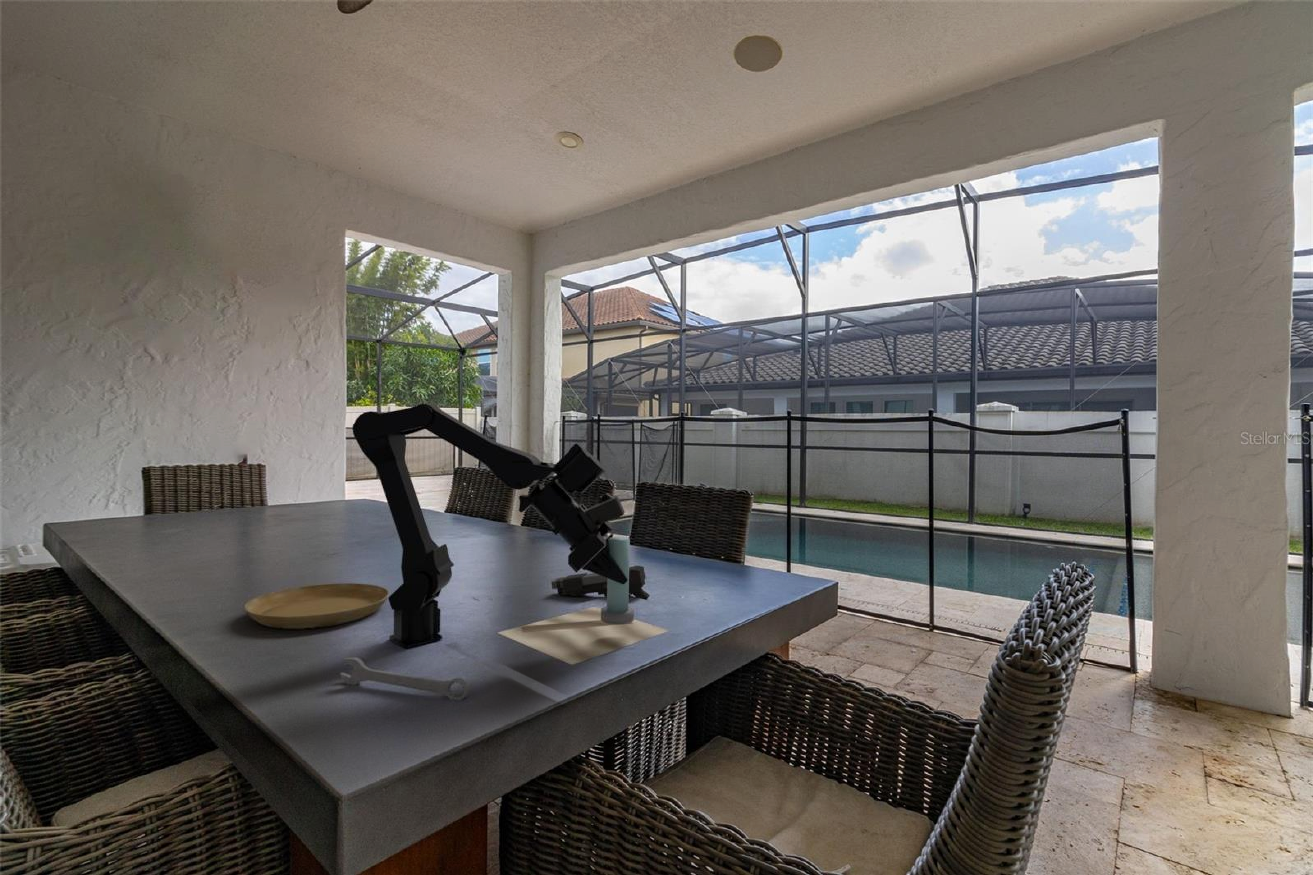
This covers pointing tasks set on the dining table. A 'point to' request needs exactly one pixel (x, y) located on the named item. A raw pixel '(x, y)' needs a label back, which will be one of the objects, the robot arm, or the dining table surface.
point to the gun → (599, 584)
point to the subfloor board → (580, 635)
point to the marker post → (618, 586)
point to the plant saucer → (316, 605)
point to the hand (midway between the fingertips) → (626, 579)
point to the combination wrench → (400, 679)
